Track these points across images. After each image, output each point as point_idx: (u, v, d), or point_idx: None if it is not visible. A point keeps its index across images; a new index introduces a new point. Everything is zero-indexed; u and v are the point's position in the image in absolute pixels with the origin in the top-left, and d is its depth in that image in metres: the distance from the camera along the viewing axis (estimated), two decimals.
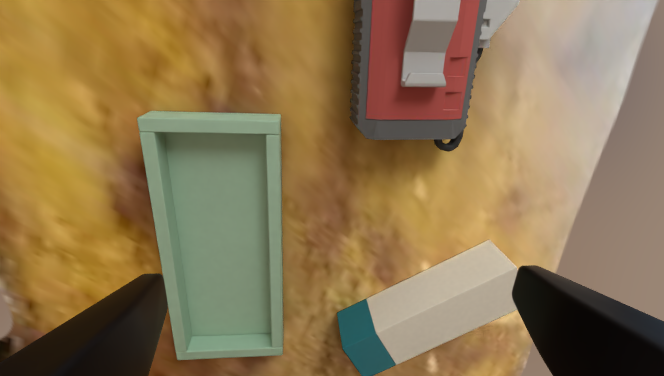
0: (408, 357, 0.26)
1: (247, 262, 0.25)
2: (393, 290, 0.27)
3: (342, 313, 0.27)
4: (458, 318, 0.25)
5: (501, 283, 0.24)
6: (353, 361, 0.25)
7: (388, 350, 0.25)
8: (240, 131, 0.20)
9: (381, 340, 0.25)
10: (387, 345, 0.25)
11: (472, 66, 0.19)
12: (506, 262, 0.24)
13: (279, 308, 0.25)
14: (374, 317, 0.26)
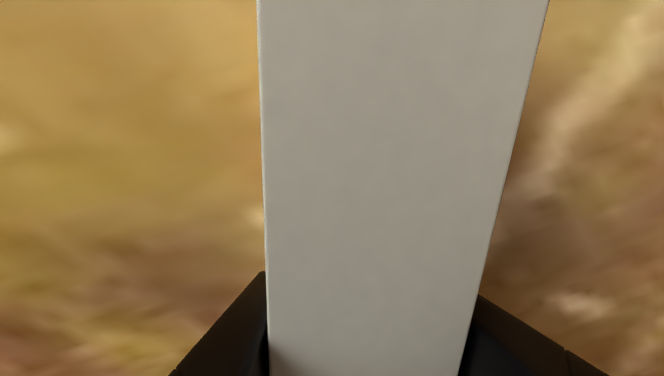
0: None
1: None
2: None
3: None
4: (386, 301, 0.06)
5: (317, 72, 0.04)
6: None
7: None
8: None
9: None
10: None
11: None
12: None
13: None
14: None
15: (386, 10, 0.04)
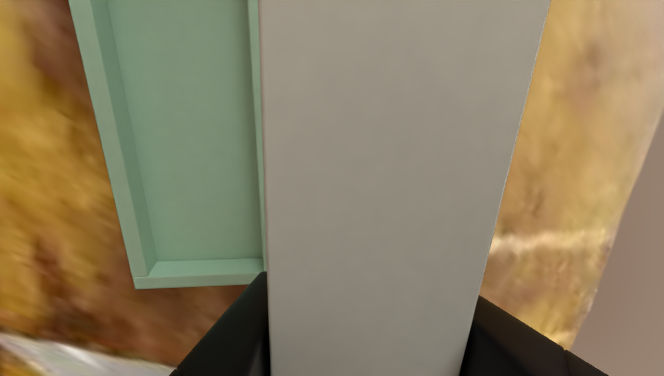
0: None
1: (226, 149, 0.18)
2: None
3: None
4: (387, 300, 0.06)
5: (319, 70, 0.04)
6: None
7: None
8: None
9: None
10: None
11: None
12: None
13: None
14: None
15: (387, 7, 0.04)
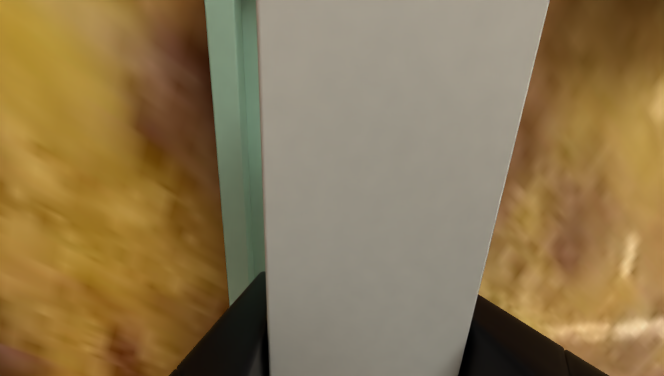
0: None
1: None
2: None
3: None
4: (386, 299, 0.06)
5: (318, 68, 0.04)
6: None
7: None
8: None
9: None
10: None
11: None
12: None
13: None
14: None
15: (385, 5, 0.04)
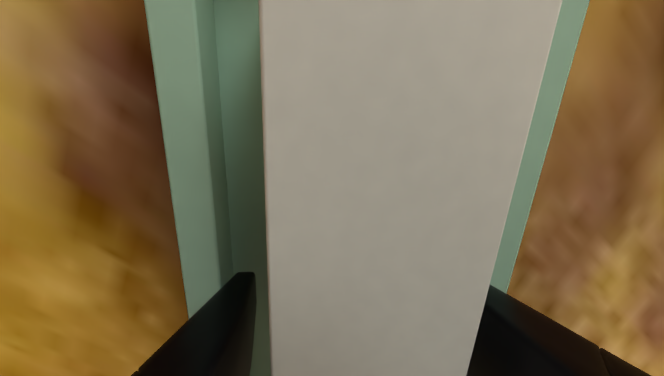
0: None
1: None
2: None
3: None
4: (391, 307, 0.06)
5: (322, 72, 0.04)
6: None
7: None
8: None
9: None
10: None
11: None
12: None
13: None
14: None
15: (393, 6, 0.04)
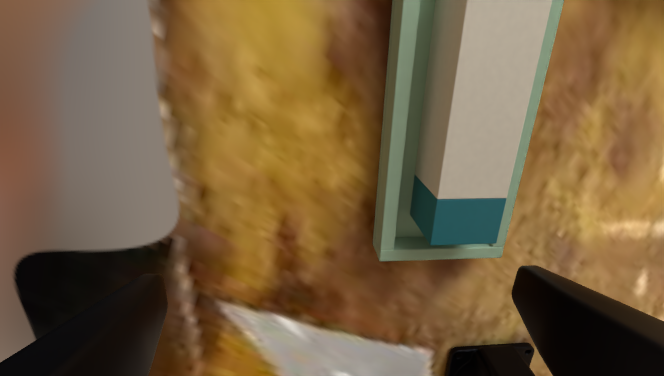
0: (507, 178, 0.17)
1: None
2: (422, 139, 0.19)
3: (412, 210, 0.21)
4: (498, 82, 0.15)
5: None
6: (458, 242, 0.18)
7: (475, 197, 0.17)
8: None
9: (453, 198, 0.17)
10: (467, 194, 0.17)
11: None
12: None
13: (515, 190, 0.20)
14: (428, 184, 0.18)
15: None
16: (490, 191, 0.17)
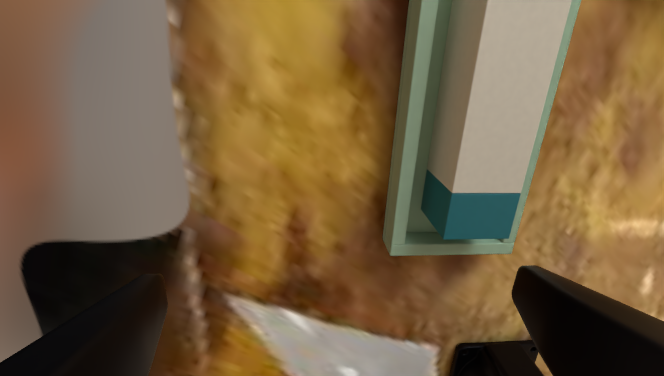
0: (522, 173, 0.17)
1: None
2: (435, 133, 0.19)
3: (423, 204, 0.21)
4: (517, 76, 0.15)
5: None
6: (471, 237, 0.18)
7: (490, 191, 0.17)
8: None
9: (468, 192, 0.17)
10: (481, 189, 0.17)
11: None
12: None
13: (527, 186, 0.20)
14: (441, 178, 0.18)
15: None
16: (505, 186, 0.17)
